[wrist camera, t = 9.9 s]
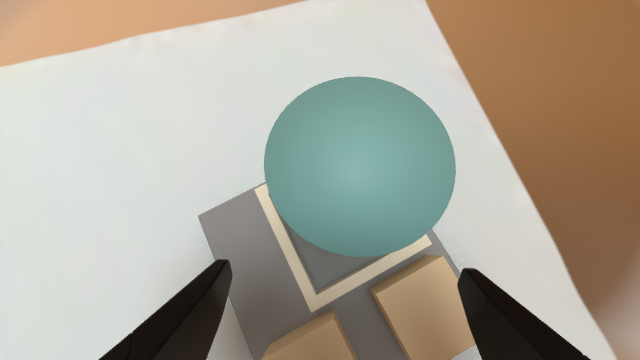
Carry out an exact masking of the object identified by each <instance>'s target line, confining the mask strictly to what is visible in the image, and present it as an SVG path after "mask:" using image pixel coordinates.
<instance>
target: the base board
mask: <svg viewBox="0 0 640 360" xmlns="http://www.w3.org/2000/svg"><path fill="white" fill-rule="evenodd" d="M198 218H199V220H200V223H201V225H202V228H203V231H204V233H205V236H206V238H207V241H208V243H209V246H210V249H211V251H212V254H213V256H214V259H215V261H216V260H217V259H228V260H229V261H230V265H231V269H232V274H233V276H232V282H231V285H230V289H229V293H228V295H229V297H230V300H231V303H232V305H233V308H234V310H235V313H236V315H237V318H238V321H239V323H240V326H241V328H242V331H243V333H244V336H245V338H246V341H247V344H248V346H249V349H250V351H251V354H252V356H253V359H254V360H450V359H452V358H453V357H455V356H457V355H458V354H460V353H461V352H463V351H465V350H466V349H468V348H469V347H471V346H473V345H474V344H476V343H475V341H474V338H473V336H472V333H471V331H470V328H469V325H468V322H467V318H466V315H465V311H464V308H463V305H462V301H461V298H460V295H459V291H458V288H457V283H458V280H459V277H460V275H461V273H460V272H459V270H458V269H457V267H456V266H455V264H454V263H453V261H452V259H451V258H450V256H449V255H448V253H447V252H446V250H445V248H444V247H443V245H442V244H441V242H440V241H439V239H438V237H437V236H436V234H435V233H434V231H433V230H432V229H431V230H430V231H428V232H427V233H426V234H425V235H424V236H423V237H422V238H420V239H419V240H417V241H416V242H414V243H413V244H411V245H409V246H407V247H405V248H403V249H401V250H399V251H395V252H392V253H389V254H386V255H380V256H373V257H353V256H344V255H340V254H336V253H332V252H329V251H327V250H324V249H322V248H319V247H317V246H316V245H314V244H312V243H310V242H308V241H307V240H305V239H304V238H303V237H301V236H300V235H299V234H297V233H296V232H295V231H294V230H293V229H292V228H291V227H290V226H289V225H288V224H287V223H286V222H285V220H284V219H283V218H282V216H281V215H280V214H279V212H278V210H277V209H276V207H275V205H274V203H273V201H272V199H271V196H270V194H269V191H268V188H267V184H266V182H264V183H262V184H260V185H258V186H256V187H254V188H252V189H250V190H248V191H246V192H244V193H242V194H240V195H238V196H236V197H234V198H232V199H230V200H228V201H227V202H225V203H223V204H221V205H219V206H217V207H215V208H213V209H211V210H209V211H207V212H205V213H203V214H201V215H199V216H198Z"/></svg>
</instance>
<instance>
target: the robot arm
mask: <svg viewBox="0 0 640 360" xmlns="http://www.w3.org/2000/svg"><path fill="white" fill-rule="evenodd" d="M232 276H233V274H232V269H231V265H230V261H229V260H228V259H217V260H216V261H215V262H213V263H212V264H211V265H210V266H209V267H208V268H206V269H205V270H204V271H203V272H202V273H201V274H199V275H198V276H197V277H196V278H195V279H194V280H192V281H191V282H190V283H189V284H188V285H186V286H185V287H184V288H183V289H182V290H181V291H179V292H178V293H177V294H176V295H175V296H174V297H172V298H171V299H170V300H169V301H168V302H167V303H165V304H164V305H163V306H162V307H161V308H159V309H158V310H157V311H156V312H155V313H154V314H152V315H151V316H150V317H149V318H148V319H147V320H145V321H144V322H143V323H142V324H141V325H140V326H138V327H137V328H136V329H135V330H134V331H133V333H130V334H129V335H128V336H126V337H125V338H124V339H123V340H122V341H121V342H119V343H118V344H117V345H116V346H115V347H113V348H112V349H111V350H110V351H109V352H107V353H106V354H105V355H104V356H102V357H101V358H100V359H99V360H206V358H207V356H208V353H209V350H210V348H211V345H212V343H213V340H214V337H215V335H216V332H217V329H218V327H219V324H220V321H221V318H222V315H223V312H224V308H225V304H226V300H227V297H228V293H229V289H230V285H231V282H232ZM457 288H458V291H459V295H460V298H461V301H462V305H463V308H464V311H465V315H466V318H467V322H468V325H469V328H470V331H471V333H472V336H473V338H474V341H475V343H476V346H477V348H478V350H479V353H480V355H481V358H482V360H590V359H589V358H588V357H587V356H585V355H583V354H582V352H580V351H579V350H578V349H577V348H575V347H574V346H573V345H571V344H570V343H569V342H568V341H566V340H565V339H564V338H563V337H561V336H560V335H559V334H558V333H556V332H555V331H554V330H553V329H551V328H550V327H549V326H548V325H546V324H545V323H544V322H542V321H541V320H540V319H539V318H537V317H536V316H535V315H534V314H532V313H531V312H530V311H529V310H527V309H526V308H525V307H524V306H522V305H521V304H520V303H519V302H517V301H516V300H515V299H514V298H512V297H511V296H510V295H508V294H507V293H506V292H505V291H503V290H502V289H501V288H500V287H498V286H497V285H496V284H495V283H493V282H492V281H491V280H490V279H488V278H487V277H486V276H485V275H483V274H482V273H481V272H480V271H478V270H477V269H475V268H464V269H463V270H462V272H461V275H460V277H459V280H458V283H457Z"/></svg>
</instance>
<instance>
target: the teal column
mask: <svg viewBox="0 0 640 360" xmlns="http://www.w3.org/2000/svg"><path fill="white" fill-rule="evenodd" d="M264 171H265V180H266V184H267V188H268V191H269V194H270V196H271V199H272V201H273V203H274V205H275V207H276V209H277V210H278V212H279V214H280V215H281V216H282V218H283V219H284V220H285V222H286V223H287V224H288V225H289V226H290V227H291V228H292V229H293V230H294V231H295V232H296V233H297V234H299V235H300V236H301V237H303V238H304V239H305V240H307V241H308V242H310V243H312V244H314V245H316V246H317V247H319V248H322V249H324V250H327V251H329V252H332V253H336V254H340V255H344V256H353V257H373V256H380V255H386V254H389V253H392V252H395V251H399V250H401V249H403V248H405V247H407V246H409V245H411V244H413V243H414V242H416V241H417V240H419V239H420V238H422V237H423V236H424V235H425V234H426V233H427V232H428V231H430V230H431V229H432V228H433V226H434V225H435V224H436V223H437V222H438V220H439V219H440V218H441V216H442V214H443V213H444V211H445V209H446V208H447V205H448V203H449V201H450V198H451V195H452V192H453V188H454V183H455V174H456V169H455V157H454V151H453V147H452V144H451V141H450V138H449V135H448V133H447V131H446V129H445V127H444V125H443V124H442V122H441V121H440V119H439V118H438V116H437V115H436V114H435V113H434V111H433V110H432V109H431V108H430V107H429V106H428V105H427V104H426V103H425V102H424V101H423V100H421V99H420V98H419V97H417V96H416V95H415V94H413V93H412V92H410V91H408V90H406V89H405V88H403V87H401V86H398V85H396V84H394V83H391V82H388V81H384V80H381V79H376V78H370V77H345V78H338V79H334V80H330V81H327V82H324V83H321V84H319V85H316V86H314V87H312V88H310V89H309V90H307V91H305V92H304V93H302V94H301V95H299V96H298V97H297V98H295V99H294V100H293V101H292V102H291V103H290V104H289V105H288V106H287V107H286V108H285V109H284V111H283V112H282V113H281V114H280V116H279V117H278V119H277V120H276V122H275V124H274V126H273V128H272V130H271V132H270V135H269V138H268V141H267V144H266V150H265V156H264Z"/></svg>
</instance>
